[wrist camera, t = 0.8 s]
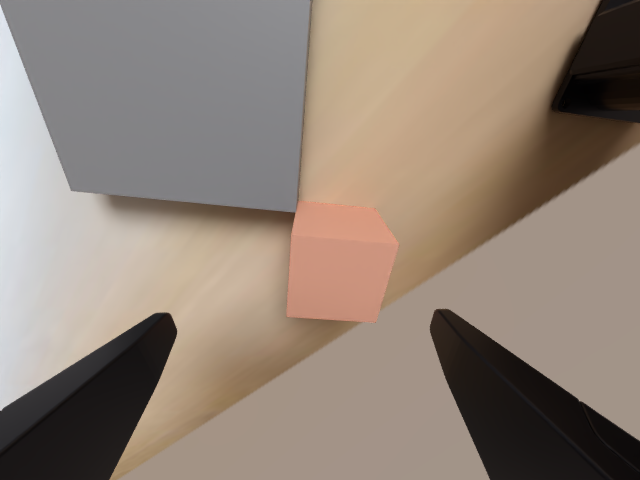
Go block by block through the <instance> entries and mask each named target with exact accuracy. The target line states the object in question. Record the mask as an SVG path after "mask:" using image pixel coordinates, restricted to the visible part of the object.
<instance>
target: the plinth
mask: <svg viewBox="0 0 640 480" xmlns="http://www.w3.org/2000/svg"><path fill="white" fill-rule="evenodd" d="M0 5H1V7H2V10H3V13H4V15H5V18H6V21H7V23H8V26H9V28H10V31H11V34H12V36H13V39H14V42H15V44H16V47H17V49H18V52H19V55H20V57H21V60H22V63H23V65H24V68H25V71H26V73H27V76H28V78H29V81H30V84H31V86H32V89H33V92H34V94H35V97H36V99H37V102H38V105H39V107H40V110H41V113H42V115H43V118H44V120H45V123H46V126H47V128H48V131H49V134H50V136H51V139H52V141H53V144H54V147H55V149H56V152H57V155H58V157H59V160H60V163H61V165H62V168H63V170H64V173H65V176H66V178H67V181H68V184H69V186H70V189H71V191H77V192H87V193H98V194H108V195H119V196H129V197H139V198H150V199H160V200H170V201H181V202H191V203H202V204H212V205H222V206H233V207H243V208H254V209H264V210H274V211H285V212H295V213H296V209H297V204H298V195H299V181H300V167H301V153H302V139H303V125H304V111H305V96H306V82H307V68H308V54H309V40H310V26H311V11H312V0H0Z"/></svg>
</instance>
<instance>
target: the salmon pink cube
mask: <svg viewBox="0 0 640 480" xmlns="http://www.w3.org/2000/svg"><path fill="white" fill-rule="evenodd" d="M398 248H399V243H398V242H397V240H396V239H395V237H394V236H393V234H392V233H391V231H390V230H389V228H388V227H387V225H386V224H385V222H384V221H383V219H382V218H381V216H380V215H379V213H378V212H377V210H376V209H375V208H367V207H356V206H346V205H336V204H326V203H316V202H306V201H298V204H297V209H296V214H295V219H294V224H293V229H292V234H291V247H290V264H289V281H288V298H287V315H286V317H296V318H312V319H327V320H342V321H358V322H374V323H376V321H377V317H378V314H379V311H380V307H381V304H382V301H383V298H384V294H385V291H386V288H387V284H388V281H389V278H390V274H391V271H392V268H393V264H394V261H395V258H396V254H397V251H398Z"/></svg>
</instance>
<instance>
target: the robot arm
mask: <svg viewBox="0 0 640 480" xmlns="http://www.w3.org/2000/svg"><path fill="white" fill-rule="evenodd" d="M564 100H565V103H564V105H563V106H562V103H563V101H564ZM552 110H553V111H554V112H557V113H564V114H571V115H579V116H586V117H593V118H601V119H608V120H615V121H623V122H630V123H640V0H603V2H602V4H601V6H600V8H599V10H598V12H597V14H596V16H595V18H594V20H593V22H592V24H591V26H590V28H589V30H588V32H587V35H586V37H585V39H584V41H583V43H582V45H581V47H580V49H579V51H578V53H577V55H576V57H575V59H574V61H573V63H572V65H571V67H570V69H569V71H568V73H567V75H566V77H565V79H564V82H563V84H562V86H561V88H560V90H559V92H558V94H557V96H556V98H555V100H554V102H553V105H552ZM430 333H431V336H432V339H433V342H434V345H435V348H436V351H437V354H438V357H439V360H440V363H441V366H442V369H443V372H444V375H445V378H446V380H447V383H448V385H449V388H450V389H451V392H452V394H453V396H454V399H455V401H456V403H457V406H458V408H459V410H460V413H461V415H462V417H463V419H464V422H465V424H466V426H467V428H468V430H469V433H470V435H471V437H472V439H473V442H474V444H475V446H476V449H477V451H478V453H479V455H480V458H481V460H482V462H483V464H484V467H485V469H486V471H487V474H488V476H489V478H490V480H640V441H639V440H637V439H636V438H634V437H633V436H631V435H630V434H629V433H627V432H626V431H624V430H623V429H621V428H620V427H618V426H617V425H615V424H614V423H612V422H611V421H609V420H608V419H606V418H605V417H604V416H602V415H601V414H599V413H598V412H596V411H595V410H593V409H592V408H591V407H589V406H588V405H586V404H585V403H583V402H581V401H579V400H578V399H577V398H576V397H575V396H573V395H572V394H570V393H569V392H567V391H566V390H564V389H563V388H562V387H560V386H559V385H557V384H556V383H554V382H553V381H552V380H550V379H549V378H547V377H546V376H544V375H543V374H541V373H540V372H539V371H537V370H536V369H534V368H533V367H531V366H530V365H529V364H527V363H526V362H524V361H523V360H521V359H520V358H518V357H517V356H516V355H514V354H513V353H511V352H510V351H508V350H507V349H505V348H504V347H502V346H501V345H500V344H498V343H497V342H495V341H494V340H492V339H491V338H490V337H488V336H487V335H485V334H484V333H482V332H481V331H480V330H478V329H477V328H475V327H474V326H472V325H471V324H469V323H468V322H467V321H465V320H464V319H462V318H461V317H459V316H458V315H456V314H455V313H453V312H452V311H451V310H449V309H436V310H435V311H434V314H433V318H432V321H431V324H430ZM176 336H177V328H176V326H175V323H174V321H173V318H172V316H171V314H169V313H155V314H153V315H151V316H150V317H148V318H147V319H145V320H143V321H142V322H140V323H139V324H137V325H135V326H134V327H132V328H131V329H129V330H127V331H126V332H124V333H123V334H121V335H119V336H118V337H116V338H115V339H113V340H111V341H110V342H108V343H107V344H105V345H103V346H102V347H100V348H99V349H97V350H95V351H94V352H92V353H91V354H89V355H87V356H86V357H84V358H83V359H81V360H79V361H78V362H76V363H75V364H73V365H71V366H70V367H68V368H67V369H65V370H63V371H62V372H60V373H59V374H57V375H55V376H54V377H52V378H51V379H49V380H47V381H46V382H44V383H43V384H41V385H39V386H38V387H36V388H35V389H33V390H31V391H30V392H28V393H27V394H25V395H23V396H22V397H20V398H19V399H17V400H15V401H14V402H12V403H11V404H9V405H7V406H6V407H4V408H3V409H2V411H0V480H109V479H110V477H111V475H112V473H113V471H114V469H115V467H116V466H117V464H118V462H119V460H120V458H121V456H122V454H123V452H124V450H125V448H126V446H127V444H128V442H129V440H130V438H131V436H132V434H133V432H134V430H135V428H136V426H137V424H138V422H139V420H140V418H141V416H142V414H143V412H144V410H145V408H146V406H147V404H148V402H149V400H150V398H151V396H152V394H153V392H154V390H155V388H156V386H157V384H158V382H159V379H160V377H161V375H162V372H163V370H164V367H165V364H166V362H167V359H168V357H169V354H170V352H171V349H172V347H173V344H174V342H175V339H176Z"/></svg>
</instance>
